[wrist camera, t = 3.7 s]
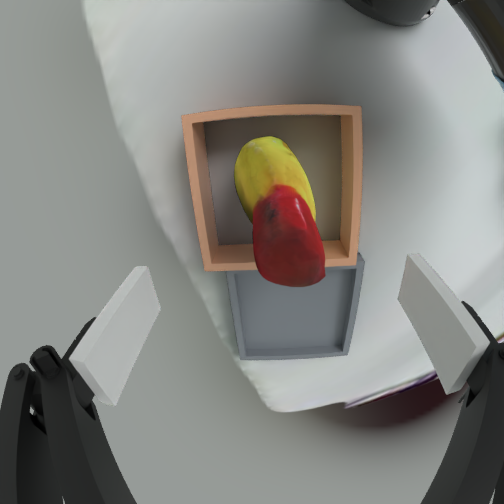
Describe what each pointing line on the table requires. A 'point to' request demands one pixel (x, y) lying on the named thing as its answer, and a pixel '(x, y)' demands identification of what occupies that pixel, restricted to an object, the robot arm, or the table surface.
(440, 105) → the table surface
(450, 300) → the robot arm
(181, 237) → the table surface
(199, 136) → the holder
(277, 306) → the tray
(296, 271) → the bottle
